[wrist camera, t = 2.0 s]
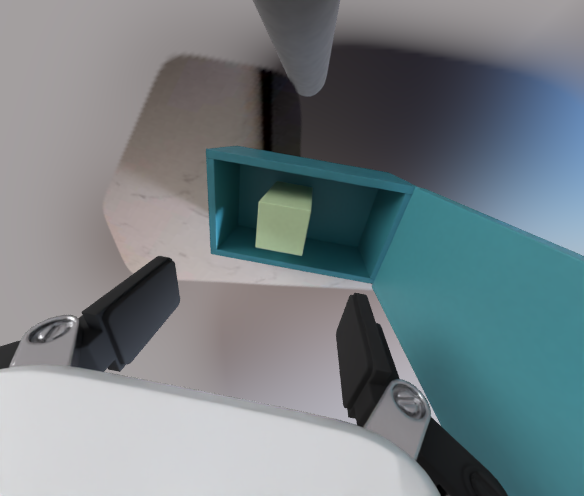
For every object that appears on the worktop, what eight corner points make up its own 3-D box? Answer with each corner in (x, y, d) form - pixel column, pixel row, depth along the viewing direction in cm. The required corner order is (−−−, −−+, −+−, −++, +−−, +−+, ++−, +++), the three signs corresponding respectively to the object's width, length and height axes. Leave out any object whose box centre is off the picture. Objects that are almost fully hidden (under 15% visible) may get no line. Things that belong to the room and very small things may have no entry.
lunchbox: (235, 226, 29) (210, 254, 22) (236, 145, 24) (205, 148, 17) (360, 249, 29) (374, 284, 22) (388, 172, 24) (417, 186, 17)
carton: (272, 215, 27) (255, 247, 19) (276, 180, 25) (258, 201, 17) (306, 221, 27) (302, 256, 19) (312, 187, 25) (311, 210, 17)
